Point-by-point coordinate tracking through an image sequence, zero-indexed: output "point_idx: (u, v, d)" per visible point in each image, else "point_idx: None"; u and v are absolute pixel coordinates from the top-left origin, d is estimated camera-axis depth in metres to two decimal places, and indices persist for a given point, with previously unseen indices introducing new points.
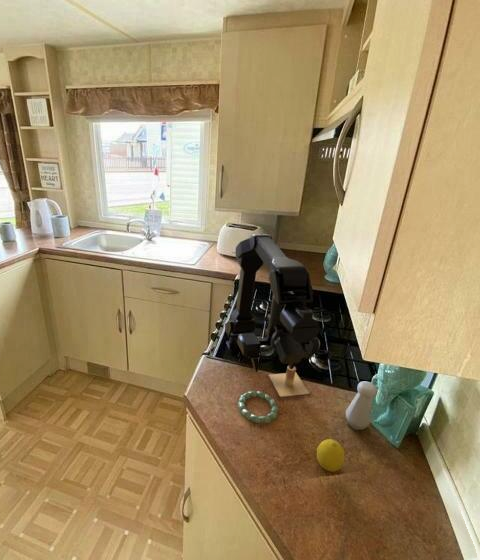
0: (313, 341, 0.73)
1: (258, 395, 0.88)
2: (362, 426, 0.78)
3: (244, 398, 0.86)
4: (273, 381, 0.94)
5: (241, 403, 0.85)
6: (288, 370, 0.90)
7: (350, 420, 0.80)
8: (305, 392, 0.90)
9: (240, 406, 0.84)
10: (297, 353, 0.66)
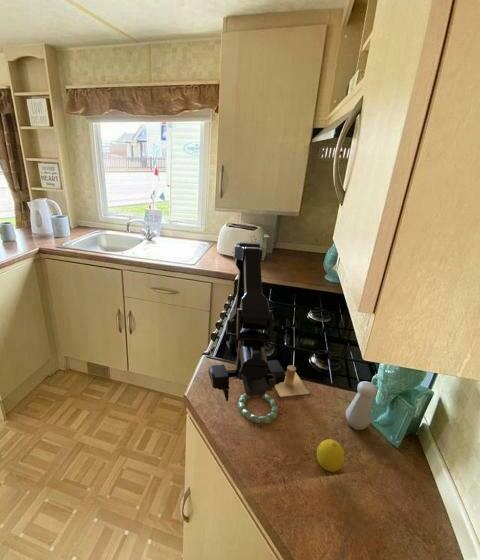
0: (279, 373, 0.78)
1: (258, 395, 0.88)
2: (362, 426, 0.78)
3: (244, 398, 0.86)
4: None
5: (241, 403, 0.85)
6: (288, 370, 0.90)
7: (350, 420, 0.80)
8: (305, 392, 0.90)
9: (240, 406, 0.84)
10: (261, 388, 0.71)
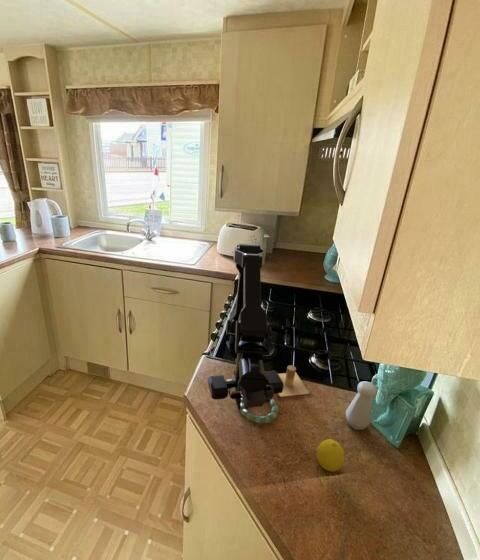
0: (277, 384, 0.79)
1: None
2: (362, 426, 0.78)
3: None
4: None
5: (241, 402, 0.85)
6: (288, 370, 0.90)
7: (350, 420, 0.80)
8: (305, 392, 0.90)
9: None
10: (259, 399, 0.72)
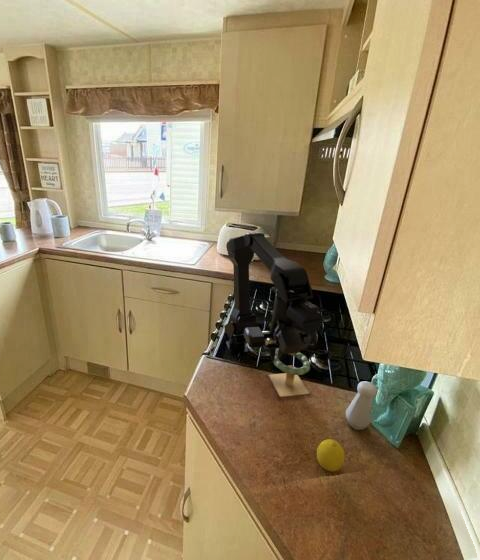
0: (311, 335, 0.82)
1: None
2: (362, 426, 0.78)
3: (277, 352, 0.89)
4: (273, 381, 0.94)
5: None
6: None
7: (350, 420, 0.80)
8: (305, 392, 0.90)
9: None
10: (297, 345, 0.75)
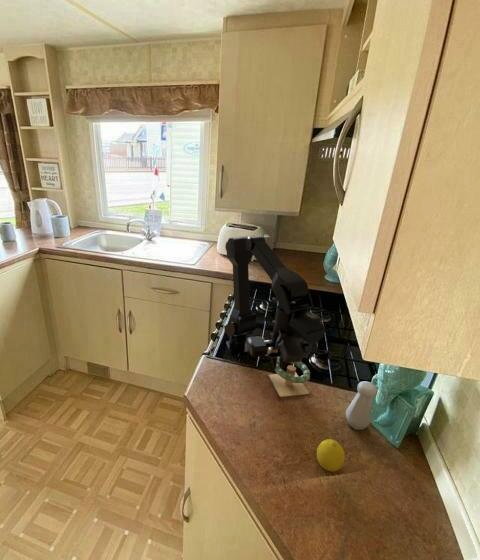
0: (312, 343, 0.84)
1: None
2: (362, 426, 0.78)
3: (278, 360, 0.92)
4: (273, 381, 0.94)
5: None
6: (288, 370, 0.90)
7: (350, 420, 0.80)
8: (305, 392, 0.90)
9: (276, 366, 0.89)
10: (298, 354, 0.78)
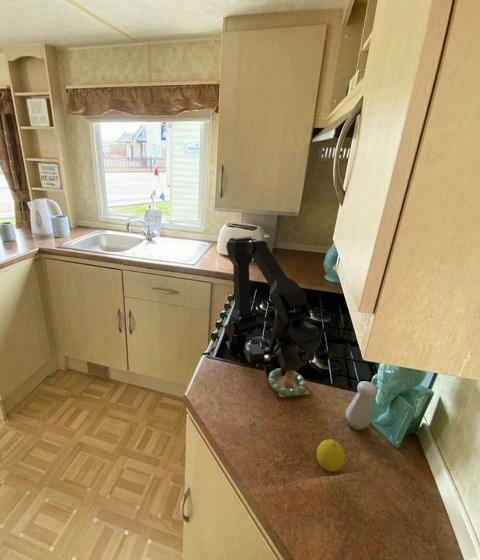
0: (309, 352, 0.86)
1: None
2: (362, 426, 0.78)
3: (273, 374, 0.94)
4: None
5: (271, 378, 0.92)
6: None
7: (350, 420, 0.80)
8: (305, 392, 0.90)
9: (271, 381, 0.92)
10: (295, 363, 0.79)
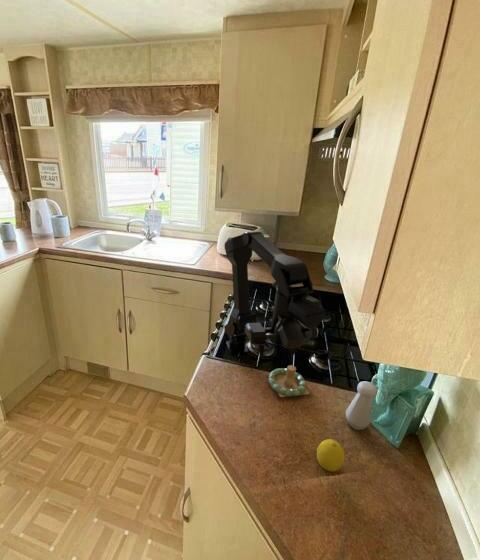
0: (312, 329, 0.83)
1: None
2: (362, 426, 0.78)
3: (273, 374, 0.94)
4: None
5: (271, 378, 0.92)
6: (288, 370, 0.90)
7: (350, 420, 0.80)
8: (305, 392, 0.90)
9: (271, 381, 0.92)
10: (298, 339, 0.76)
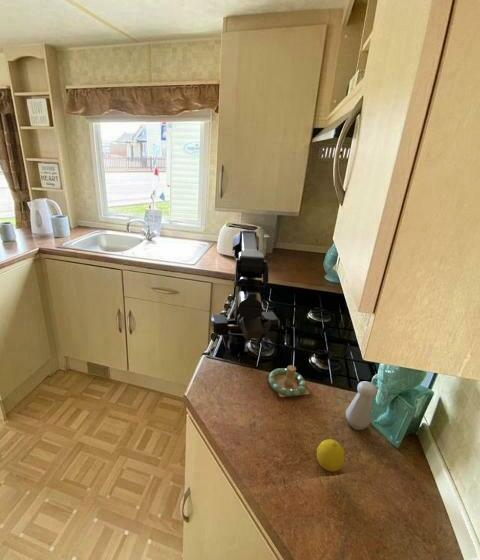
0: (273, 321, 0.85)
1: None
2: (362, 426, 0.78)
3: (273, 374, 0.94)
4: None
5: (271, 378, 0.92)
6: (288, 370, 0.90)
7: (350, 420, 0.80)
8: (305, 392, 0.90)
9: (271, 381, 0.92)
10: (257, 330, 0.79)
